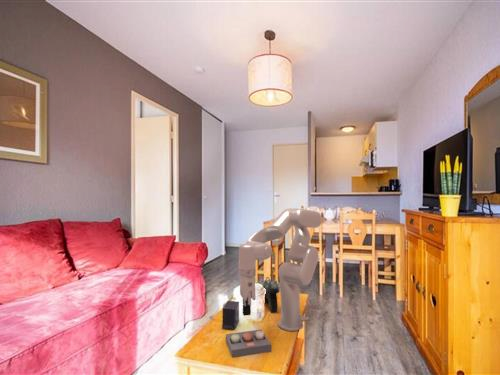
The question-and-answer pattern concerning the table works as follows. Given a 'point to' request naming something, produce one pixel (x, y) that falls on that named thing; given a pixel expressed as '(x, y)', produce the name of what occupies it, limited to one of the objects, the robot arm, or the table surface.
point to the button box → (248, 345)
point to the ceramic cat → (271, 294)
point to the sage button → (235, 338)
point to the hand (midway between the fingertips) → (246, 314)
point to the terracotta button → (247, 337)
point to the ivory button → (259, 335)
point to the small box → (230, 315)
